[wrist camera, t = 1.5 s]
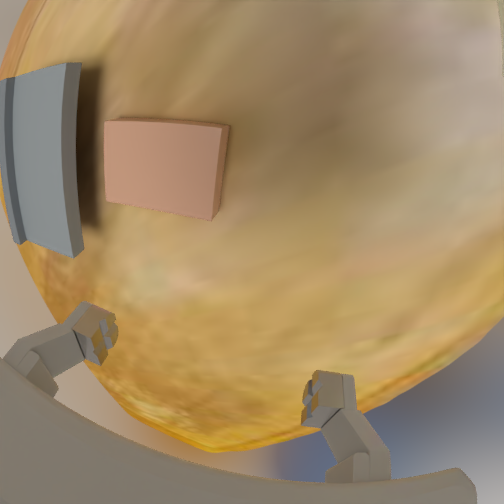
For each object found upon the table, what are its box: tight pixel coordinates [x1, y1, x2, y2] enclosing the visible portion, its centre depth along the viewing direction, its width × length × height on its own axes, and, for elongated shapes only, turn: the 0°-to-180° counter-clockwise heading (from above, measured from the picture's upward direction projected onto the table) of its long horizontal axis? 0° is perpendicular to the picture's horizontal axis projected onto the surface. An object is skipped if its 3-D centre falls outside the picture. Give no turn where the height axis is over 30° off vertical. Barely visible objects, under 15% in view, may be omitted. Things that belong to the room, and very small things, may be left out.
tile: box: [104, 118, 230, 221], centre depth 29 cm, size 10×14×4 cm
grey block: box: [0, 63, 84, 258], centre depth 27 cm, size 24×13×9 cm, turn 169°
